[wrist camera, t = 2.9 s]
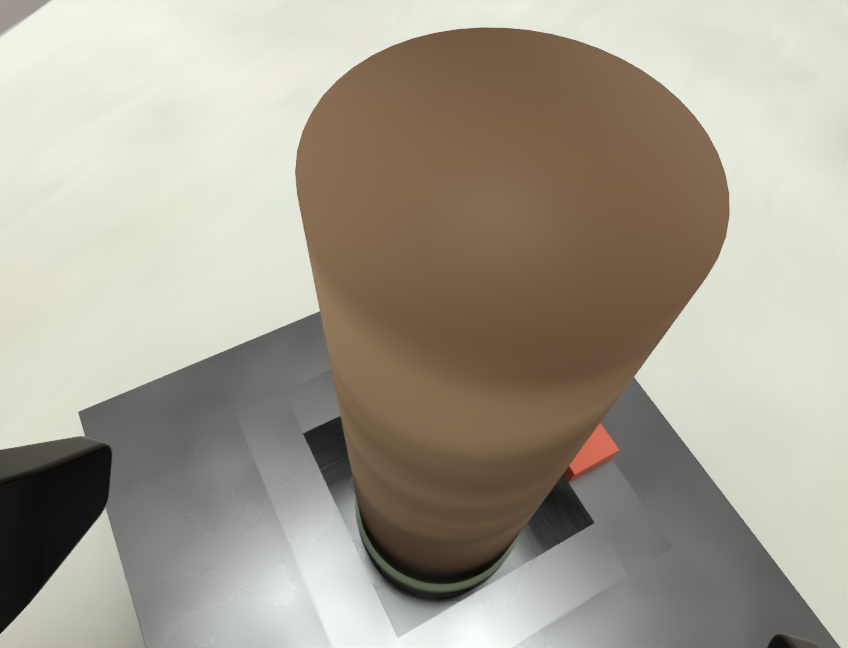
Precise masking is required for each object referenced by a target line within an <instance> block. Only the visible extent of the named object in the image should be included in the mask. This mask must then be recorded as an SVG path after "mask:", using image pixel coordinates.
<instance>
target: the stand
mask: <svg viewBox="0 0 848 648" xmlns="http://www.w3.org/2000/svg"><path fill="white" fill-rule="evenodd" d="M78 413H79V416H80V420H81V423H82V427H83V430H84V434H85V437H88V438H91V439H95V440H99V441H102V442H105V443H107V444H109V446H110V447H111V449H112V467H111V478H110V489H109V498H108V501H107V504H106V510H107V513H108V517H109V520H110V524H111V527H112V531H113V534H114V538H115V541H116V545H117V548H118V552H119V555H120V559H121V562H122V565H123V569H124V572H125V576H126V579H127V583H128V586H129V590H130V593H131V597H132V600H133V604H134V607H135V611H136V614H137V618H138V621H139V625H140V628H141V631H142V635H143V638H144V642H145V645H146V648H767V646H768V644H769V642H770V640H771V639H772V637H773V636H774V635H776V634H779V633H784V634H788V635H792V636H796V637H799V638H803V639H806V640H809V641H812V642H814V643H815V644H817V645H818V646H819V647H820V648H840V647H839V645H838V644H837V643H836V641H835V640H834V639H833V637H832V636H831V635H830V633H829V632H828V631H827V630H826V628H825V627H824V626H823V624H822V623H821V622H820V620H819V619H818V618H817V616H816V615H815V614H814V612H813V611H812V610H811V609H810V607H809V606H808V605H807V603H806V602H805V601H804V599H803V598H802V597H801V595H800V594H799V593H798V592H797V590H796V589H795V588H794V586H793V585H792V584H791V582H790V581H789V580H788V578H787V577H786V576H785V575H784V573H783V572H782V571H781V569H780V568H779V567H778V565H777V564H776V563H775V561H774V560H773V559H772V557H771V556H770V555H769V554H768V552H767V551H766V550H765V548H764V547H763V546H762V544H761V543H760V542H759V540H758V539H757V538H756V537H755V535H754V534H753V533H752V531H751V530H750V529H749V527H748V526H747V525H746V523H745V522H744V521H743V519H742V518H741V517H740V516H739V514H738V513H737V512H736V510H735V509H734V508H733V506H732V505H731V504H730V502H729V501H728V500H727V499H726V497H725V496H724V495H723V493H722V492H721V491H720V489H719V488H718V487H717V485H716V484H715V483H714V482H713V480H712V479H711V478H710V476H709V475H708V474H707V472H706V471H705V470H704V468H703V467H702V466H701V464H700V463H699V462H698V461H697V459H696V458H695V457H694V455H693V454H692V453H691V451H690V450H689V449H688V447H687V446H686V445H685V444H684V442H683V441H682V440H681V438H680V437H679V436H678V434H677V433H676V432H675V430H674V429H673V428H672V426H671V425H670V424H669V423H668V421H667V420H666V419H665V417H664V416H663V415H662V413H661V412H660V411H659V409H658V408H657V407H656V406H655V404H654V403H653V402H652V400H651V399H650V398H649V396H648V395H647V394H646V392H645V391H644V390H643V389H642V387H641V386H640V385H639V383H638V382H637V381H636V379H635V378H634V377H633V379H632V380H631V381H630V383H629V384H628V386H627V387H626V388H625V390H624V391H623V392H622V394H621V395H620V396H619V398H618V399H617V401H616V402H615V403H614V405H613V406H612V407H611V409H610V410H609V412H608V413H607V414H606V416H605V417H604V418H603V420H602V421H601V423H600V424H599V425H598V427H597V428H596V429H595V431H594V432H593V433H592V435H591V436H590V438H589V439H588V440H587V442H586V443H585V444H584V446H583V447H582V449H581V450H580V451H579V453H578V454H577V455H576V457H575V458H574V460H573V461H572V462H571V464H570V465H569V466H568V468H567V469H566V471H565V472H564V473H563V475H562V476H561V477H560V479H559V480H558V481H557V483H556V484H555V486H554V487H553V488H552V490H551V491H550V492H549V494H548V495H547V497H546V498H545V499H544V501H543V502H542V503H541V505H540V506H539V508H538V509H537V510H536V512H535V513H534V514H533V516H532V517H531V518H530V520H529V521H528V523H527V524H526V525H525V527H524V528H523V529H522V531H521V533H520V536H519V538H518V541H517V543H516V545H515V547H514V548H513V550H512V552H511V553H510V555H509V556H508V557H507V559H506V560H505V561H504V563H503V564H502V565H501V566H500V568H499V569H498V570H497V571H496V572H495V573H494V574H493V575H492V576H491V577H490V578H489V579H488V580H486V581H485V582H483V583H482V584H480V585H479V586H477V587H475V588H474V589H472V590H471V591H469V592H467V593H465V594H463V595H460V596H457V597H454V598H449V599H444V600H429V599H422V598H418V597H414V596H411V595H409V594H407V593H404V592H403V591H401V590H399V589H397V588H396V587H394V586H393V585H392V584H391V583H389V582H388V581H387V580H386V579H385V578H384V577H383V576H382V575H381V573H380V572H379V571H378V569H377V568H376V567H375V565H374V563H373V562H372V560H371V559H370V557H369V555H368V553H367V552H366V550H365V548H364V545H363V543H362V540H361V537H360V532H359V528H358V524H357V519H356V513H355V487H354V482H353V477H352V472H351V467H350V462H349V457H348V452H347V446H346V441H345V436H344V431H343V426H342V421H341V416H340V411H339V405H338V400H337V395H336V390H335V385H334V380H333V375H332V370H331V365H330V359H329V354H328V349H327V344H326V339H325V334H324V329H323V324H322V318H321V313H320V312H317V313H315V314H313V315H310V316H308V317H305V318H303V319H301V320H298V321H296V322H293V323H291V324H289V325H286V326H284V327H281V328H279V329H277V330H274V331H272V332H269V333H267V334H265V335H262V336H260V337H257V338H255V339H252V340H250V341H248V342H245V343H243V344H240V345H238V346H236V347H233V348H231V349H228V350H226V351H224V352H221V353H219V354H216V355H214V356H212V357H209V358H207V359H204V360H202V361H200V362H197V363H195V364H192V365H190V366H188V367H185V368H183V369H180V370H178V371H176V372H173V373H171V374H168V375H166V376H164V377H161V378H159V379H156V380H154V381H152V382H149V383H147V384H144V385H142V386H140V387H137V388H135V389H132V390H130V391H128V392H125V393H123V394H120V395H118V396H116V397H113V398H111V399H108V400H106V401H104V402H101V403H99V404H96V405H94V406H92V407H89V408H87V409H84V410H82V411H80V412H78Z"/></svg>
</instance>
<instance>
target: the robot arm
mask: <svg viewBox="0 0 848 648" xmlns="http://www.w3.org/2000/svg"><path fill="white" fill-rule="evenodd" d="M111 467H112V449H111V447H110V446H109V444H107V443H105V442H102V441H99V440H95V439H91V438H88V437H82V436H79V437H73V438H67V439H61V440H55V441H49V442H44V443H38V444H32V445H26V446H20V447H15V448H9V449H3V450H0V634H1V633H2V632H3V631H4V630H5V629H6V628H7V627H8V625H9V624H10V623H11V622H12V621H13V620H14V619H15V618H16V617H17V616H18V615H19V614H20V613H21V612H22V611H23V610H24V608H25V607H26V606H27V605H28V604H29V603H30V602H31V601H32V599H33V598H34V597H35V596H36V595H37V594H38V592H39V591H40V590H41V589H42V588H43V586H44V585H45V584H46V583H47V581H48V580H49V579H50V578H51V576H52V575H53V574H54V573H55V571H56V570H57V569H58V568H59V566H60V565H61V564H62V563H63V561H64V560H65V559H66V558H67V556H68V555H69V554H70V553H71V551H72V550H73V549H74V548H75V546H76V545H77V544H78V543H79V542H80V540H81V539H82V538H83V537H84V535H85V534H86V533H87V532H88V530H89V529H90V528H91V527H92V525H93V524H94V523H95V522H96V520H97V519H98V518H99V517H100V515H101V514H102V512H103V510H104V509H105V507H106V504H107V501H108V498H109V489H110V478H111ZM767 648H820V647H819V646H818V645H817V644H815V643H814V642H812V641H809V640H806V639H803V638H799V637H796V636H792V635H788V634H784V633H779V634H776V635H774V636H773V637H772V639H771V640H770V642H769V644H768V646H767Z"/></svg>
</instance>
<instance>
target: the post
mask: <svg viewBox="0 0 848 648" xmlns="http://www.w3.org/2000/svg"><path fill="white" fill-rule="evenodd" d="M295 175H296V186H297V195H298V201H299V206H300V211H301V216H302V221H303V226H304V231H305V236H306V242H307V247H308V252H309V257H310V262H311V267H312V272H313V277H314V283H315V288H316V293H317V298H318V303H319V308H320V313H321V318H322V324H323V329H324V334H325V339H326V344H327V349H328V354H329V359H330V365H331V370H332V375H333V380H334V385H335V390H336V395H337V400H338V405H339V411H340V416H341V421H342V426H343V431H344V436H345V441H346V446H347V452H348V457H349V462H350V467H351V472H352V477H353V482H354V487H355V513H356V519H357V524H358V528H359V532H360V537H361V540H362V543H363V545H364V548H365V550H366V552H367V553H368V555H369V557H370V559H371V560H372V562H373V563H374V565H375V567H376V568H377V569H378V571H379V572H380V573H381V575H382V576H383V577H384V578H385V579H386V580H387V581H388V582H389V583H391V584H392V585H393V586H394V587H396V588H397V589H399V590H401V591H403V592H404V593H407V594H409V595H411V596H414V597H418V598H422V599H429V600H444V599H449V598H454V597H457V596H460V595H463V594H465V593H467V592H469V591H471V590H472V589H474V588H475V587H477V586H479V585H480V584H482V583H483V582H485V581H486V580H488V579H489V578H490V577H491V576H492V575H493V574H494V573H495V572H496V571H497V570H498V569H499V568H500V566H501V565H502V564H503V563H504V561H505V560H506V559H507V557H508V556H509V555H510V553H511V552H512V550H513V548H514V547H515V545H516V543H517V541H518V538H519V536H520V533H521V531H522V529H523V528H524V527H525V525H526V524H527V523H528V521H529V520H530V518H531V517H532V516H533V514H534V513H535V512H536V510H537V509H538V508H539V506H540V505H541V503H542V502H543V501H544V499H545V498H546V497H547V495H548V494H549V492H550V491H551V490H552V488H553V487H554V486H555V484H556V483H557V481H558V480H559V479H560V477H561V476H562V475H563V473H564V472H565V471H566V469H567V468H568V466H569V465H570V464H571V462H572V461H573V460H574V458H575V457H576V455H577V454H578V453H579V451H580V450H581V449H582V447H583V446H584V444H585V443H586V442H587V440H588V439H589V438H590V436H591V435H592V433H593V432H594V431H595V429H596V428H597V427H598V425H599V424H600V423H601V421H602V420H603V418H604V417H605V416H606V414H607V413H608V412H609V410H610V409H611V407H612V406H613V405H614V403H615V402H616V401H617V399H618V398H619V396H620V395H621V394H622V392H623V391H624V390H625V388H626V387H627V386H628V384H629V383H630V381H631V380H632V379H633V377H634V376H635V375H636V373H637V372H638V370H639V369H640V368H641V366H642V365H643V364H644V362H645V361H646V359H647V358H648V357H649V355H650V354H651V353H652V351H653V350H654V349H655V347H656V346H657V344H658V343H659V342H660V340H661V339H662V338H663V336H664V335H665V333H666V332H667V331H668V329H669V328H670V327H671V325H672V324H673V322H674V321H675V320H676V318H677V317H678V316H679V314H680V313H681V312H682V310H683V309H684V307H685V306H686V305H687V303H688V302H689V301H690V299H691V298H692V296H693V295H694V294H695V292H696V291H697V290H698V288H699V287H700V285H701V284H702V283H703V281H704V280H705V279H706V277H707V275H708V274H709V272H710V270H711V269H712V267H713V265H714V264H715V262H716V260H717V259H718V257H719V254H720V251H721V248H722V246H723V243H724V240H725V237H726V233H727V227H728V221H729V191H728V186H727V181H726V176H725V172H724V169H723V166H722V163H721V161H720V158H719V155H718V152H717V151H716V149H715V147H714V145H713V143H712V141H711V140H710V138H709V136H708V134H707V132H706V131H705V130H704V128H703V127H702V126H701V124H700V123H699V121H698V120H697V119H696V117H695V116H694V115H693V114H692V113H691V112H690V110H689V109H688V108H687V107H686V106H685V105H684V104H683V103H682V102H681V101H680V100H679V99H678V98H677V97H676V96H675V95H674V94H672V93H671V92H670V91H669V90H668V89H667V88H665V87H664V86H663V85H662V84H661V83H659V82H658V81H657V80H655V79H654V78H652V77H651V76H649V75H648V74H646V73H645V72H644V71H642V70H640V69H639V68H637V67H635V66H633V65H632V64H630V63H628V62H626V61H625V60H623V59H621V58H619V57H617V56H614V55H612V54H610V53H608V52H606V51H603V50H601V49H599V48H596V47H593V46H590V45H587V44H585V43H582V42H579V41H576V40H572V39H568V38H565V37H561V36H557V35H553V34H548V33H542V32H536V31H531V30H522V29H511V28H469V29H457V30H450V31H444V32H438V33H433V34H429V35H425V36H421V37H417V38H413V39H410V40H407V41H405V42H402V43H399V44H396V45H394V46H391V47H389V48H387V49H385V50H383V51H381V52H379V53H376V54H374V55H372V56H371V57H369V58H367V59H366V60H364V61H363V62H361V63H360V64H358V65H356V66H355V67H353V68H352V69H351V70H350V71H348V72H347V73H346V74H345V75H343V76H342V77H341V78H340V79H339V80H337V81H336V82H335V84H334V85H333V86H332V87H331V88H330V89H329V90H328V91H327V92H326V93H325V94H324V95H323V97H322V98H321V100H320V101H319V102H318V104H317V105H316V107H315V108H314V110H313V111H312V113H311V115H310V117H309V119H308V121H307V123H306V125H305V128H304V130H303V132H302V136H301V139H300V143H299V147H298V150H297V159H296V170H295Z"/></svg>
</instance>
